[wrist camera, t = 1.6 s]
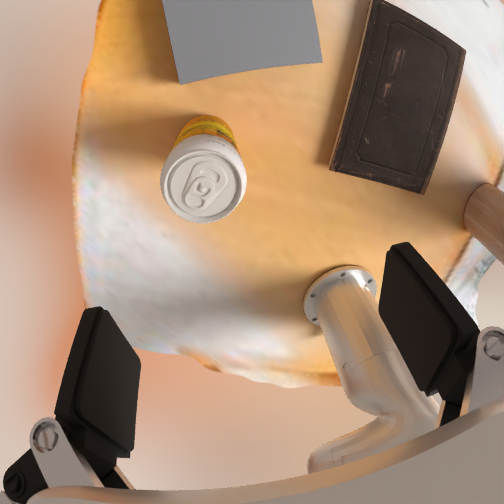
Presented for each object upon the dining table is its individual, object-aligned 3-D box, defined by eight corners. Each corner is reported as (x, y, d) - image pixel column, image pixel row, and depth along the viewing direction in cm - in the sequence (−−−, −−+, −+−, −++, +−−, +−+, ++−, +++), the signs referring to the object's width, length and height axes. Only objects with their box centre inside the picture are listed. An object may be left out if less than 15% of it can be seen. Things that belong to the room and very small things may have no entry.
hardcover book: (323, 164, 36) (330, 170, 34) (365, -2, 24) (374, -5, 22) (417, 189, 39) (426, 195, 38) (457, 50, 27) (468, 52, 26)
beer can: (243, 131, 32) (266, 172, 20) (215, 174, 35) (219, 241, 22) (196, 104, 30) (184, 127, 17) (169, 150, 32) (143, 205, 20)
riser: (310, 63, 28) (322, 62, 25) (183, 83, 28) (180, 84, 25) (289, -43, 20) (299, -54, 17) (161, -25, 20) (155, -36, 17)
